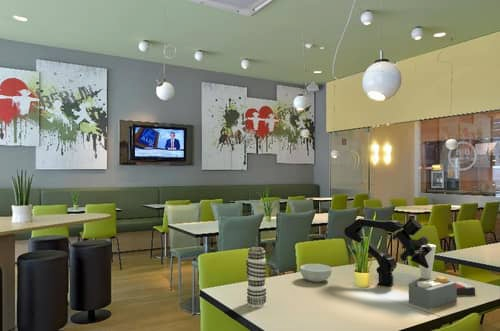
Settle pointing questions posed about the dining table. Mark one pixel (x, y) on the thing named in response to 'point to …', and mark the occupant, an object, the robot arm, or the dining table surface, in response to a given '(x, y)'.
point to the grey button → (423, 284)
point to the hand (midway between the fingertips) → (427, 267)
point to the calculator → (464, 289)
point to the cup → (430, 259)
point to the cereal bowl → (316, 272)
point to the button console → (433, 294)
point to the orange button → (442, 279)
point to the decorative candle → (256, 277)
